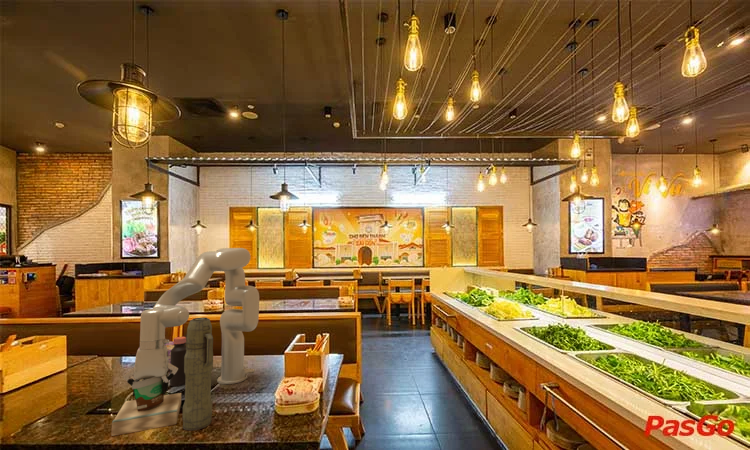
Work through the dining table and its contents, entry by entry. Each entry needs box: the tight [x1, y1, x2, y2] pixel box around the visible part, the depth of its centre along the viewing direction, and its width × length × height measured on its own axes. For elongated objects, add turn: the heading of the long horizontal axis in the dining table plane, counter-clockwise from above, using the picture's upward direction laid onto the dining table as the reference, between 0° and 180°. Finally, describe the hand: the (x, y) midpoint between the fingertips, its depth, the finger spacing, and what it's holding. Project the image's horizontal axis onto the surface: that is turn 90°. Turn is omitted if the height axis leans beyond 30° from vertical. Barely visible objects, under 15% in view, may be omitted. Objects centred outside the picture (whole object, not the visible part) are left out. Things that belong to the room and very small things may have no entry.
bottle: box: [169, 336, 186, 387], centre depth 157 cm, size 7×7×20 cm
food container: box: [131, 376, 164, 411], centre depth 125 cm, size 12×6×10 cm, turn 176°
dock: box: [111, 392, 182, 437], centre depth 124 cm, size 18×18×4 cm
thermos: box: [181, 317, 214, 431], centre depth 120 cm, size 9×12×35 cm
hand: (150, 395), depth 124 cm, fingers open, 7 cm apart
